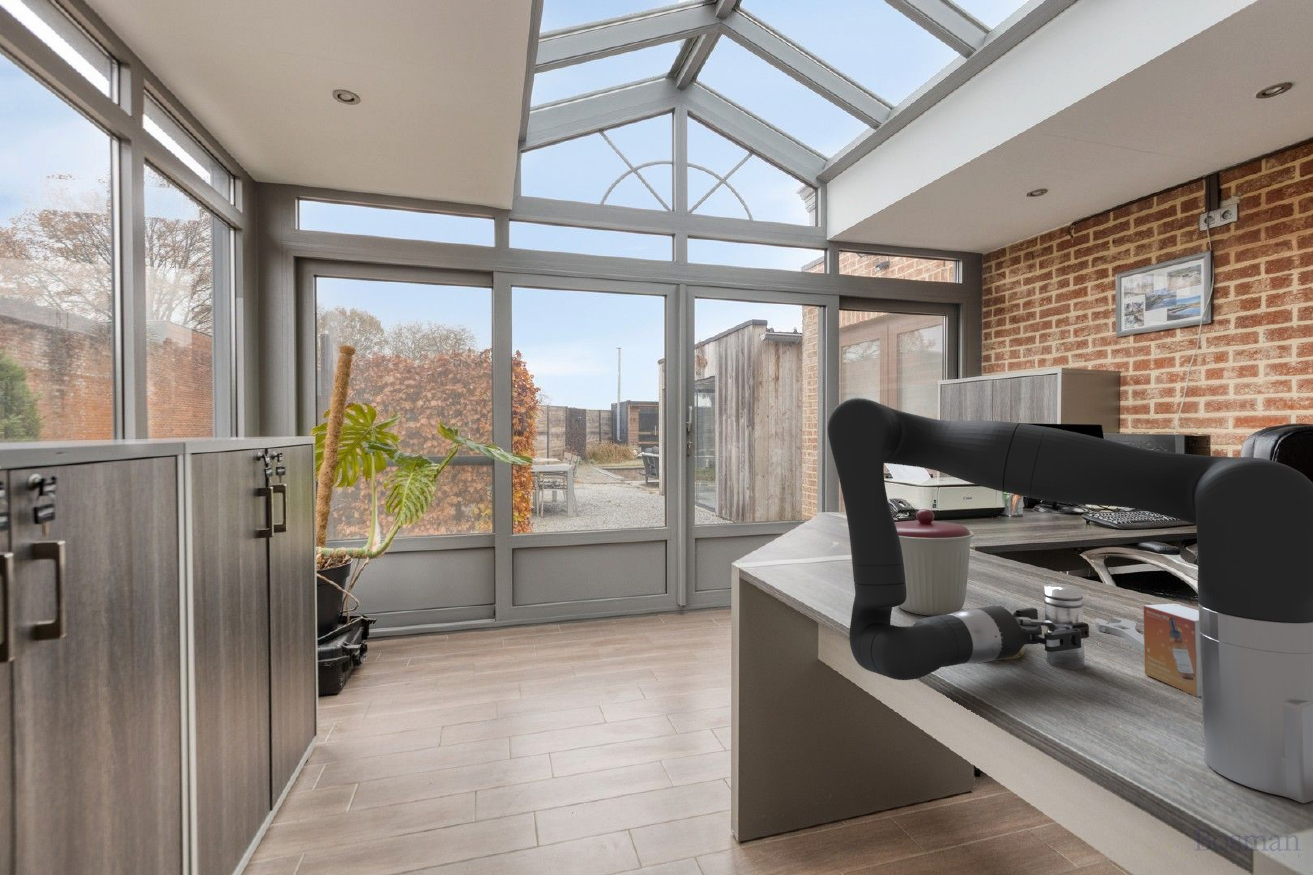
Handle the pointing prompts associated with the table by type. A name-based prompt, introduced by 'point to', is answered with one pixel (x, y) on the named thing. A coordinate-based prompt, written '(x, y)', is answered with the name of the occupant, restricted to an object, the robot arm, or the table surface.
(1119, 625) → the adjustable wrench
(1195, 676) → the small box
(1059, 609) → the spice jar
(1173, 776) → the table surface
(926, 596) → the canister
